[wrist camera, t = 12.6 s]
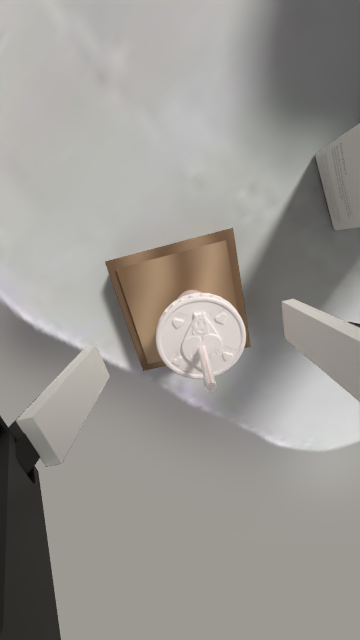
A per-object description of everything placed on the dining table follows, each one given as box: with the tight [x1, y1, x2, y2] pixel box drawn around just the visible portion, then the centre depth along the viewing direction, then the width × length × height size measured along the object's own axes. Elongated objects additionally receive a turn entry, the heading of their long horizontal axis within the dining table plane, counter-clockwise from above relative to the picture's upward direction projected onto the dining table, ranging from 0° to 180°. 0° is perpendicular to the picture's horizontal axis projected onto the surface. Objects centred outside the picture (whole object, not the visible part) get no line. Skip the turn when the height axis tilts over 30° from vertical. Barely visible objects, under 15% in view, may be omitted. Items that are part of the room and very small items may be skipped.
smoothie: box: [156, 290, 246, 392], centre depth 17 cm, size 6×6×14 cm
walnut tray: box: [105, 228, 251, 371], centre depth 25 cm, size 14×14×4 cm
